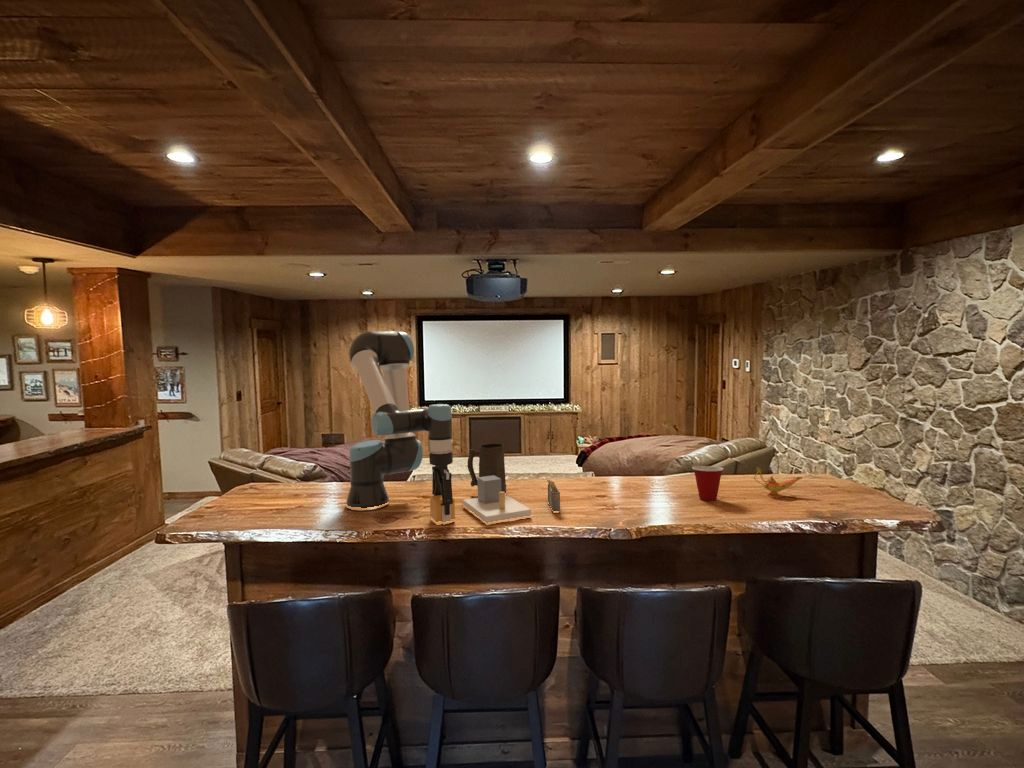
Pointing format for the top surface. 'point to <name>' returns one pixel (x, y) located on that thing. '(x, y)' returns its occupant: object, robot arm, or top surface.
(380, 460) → the robot arm
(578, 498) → the top surface
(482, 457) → the beer stein
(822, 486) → the top surface
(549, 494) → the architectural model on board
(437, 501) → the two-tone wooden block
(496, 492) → the assembly base with peg
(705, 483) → the plastic cup
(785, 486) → the magic lamp
